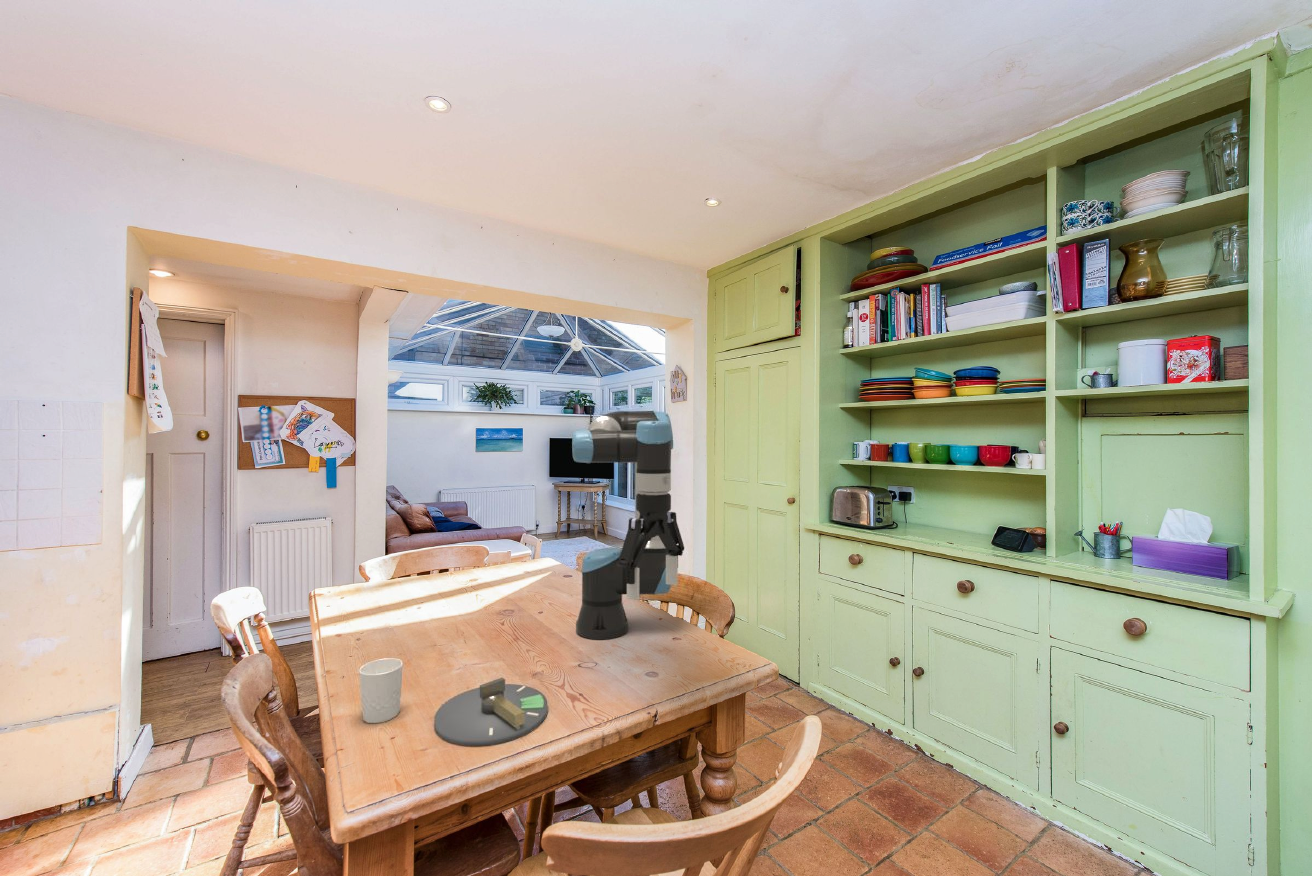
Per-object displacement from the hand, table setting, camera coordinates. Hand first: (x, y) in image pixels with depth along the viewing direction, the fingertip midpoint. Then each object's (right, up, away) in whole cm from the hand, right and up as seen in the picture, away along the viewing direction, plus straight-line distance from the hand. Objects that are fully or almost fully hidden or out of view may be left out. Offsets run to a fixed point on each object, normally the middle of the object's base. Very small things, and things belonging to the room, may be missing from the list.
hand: (653, 591), depth 116 cm
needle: (-30, -22, -9) cm, 38 cm away
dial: (-33, -23, -6) cm, 41 cm away
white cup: (-55, -24, -6) cm, 61 cm away
